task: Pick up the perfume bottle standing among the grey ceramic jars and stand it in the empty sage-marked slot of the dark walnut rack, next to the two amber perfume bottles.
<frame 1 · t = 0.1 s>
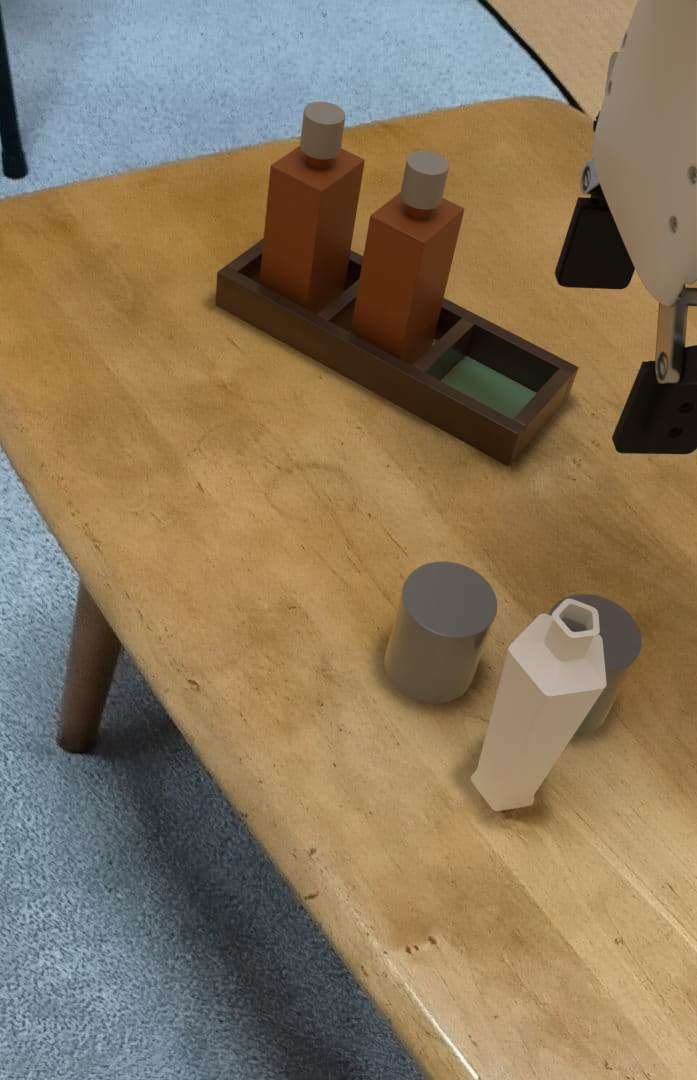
hand: (619, 361, 49), 25 cm above the table, tool pointing down, fingers open, 9 cm apart
grey jar 1: (426, 675, 69), on the table
amber bottle 2: (300, 304, 88), point 1 cm above the table, touching rack
perfume bottle: (498, 796, 65), on the table
grey jar 2: (559, 706, 69), on the table
amber bottle 1: (389, 352, 86), point 1 cm above the table, touching rack
rack: (387, 361, 86), on the table
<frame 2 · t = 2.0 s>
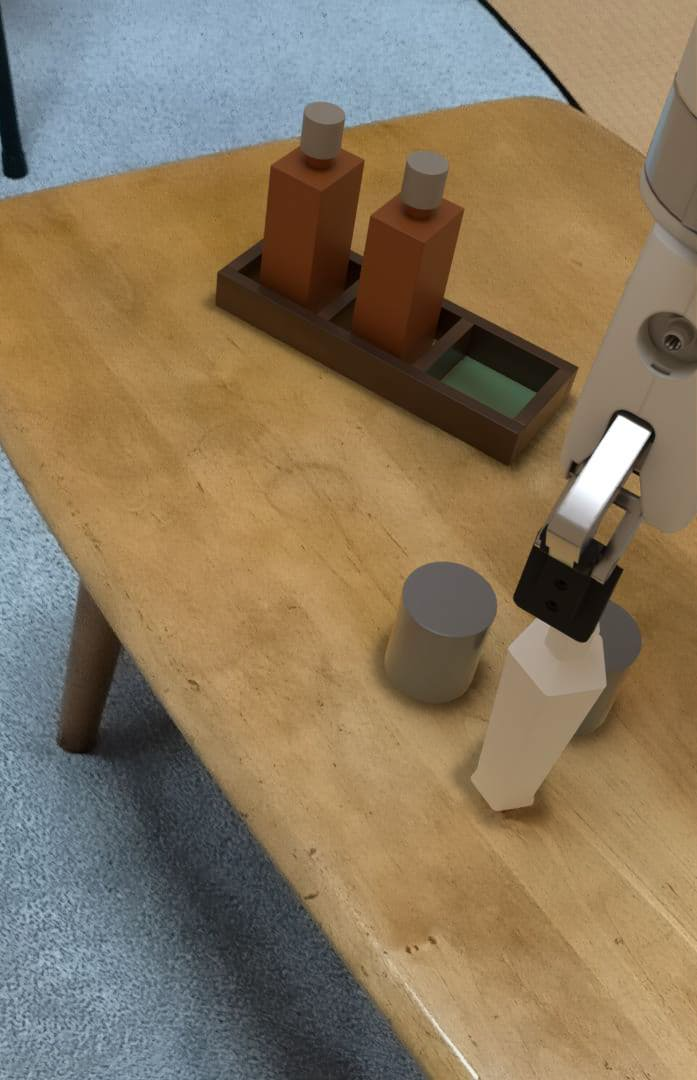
hand: (605, 545, 49), 20 cm above the table, tool pointing down, fingers open, 9 cm apart
nothing on the table moved.
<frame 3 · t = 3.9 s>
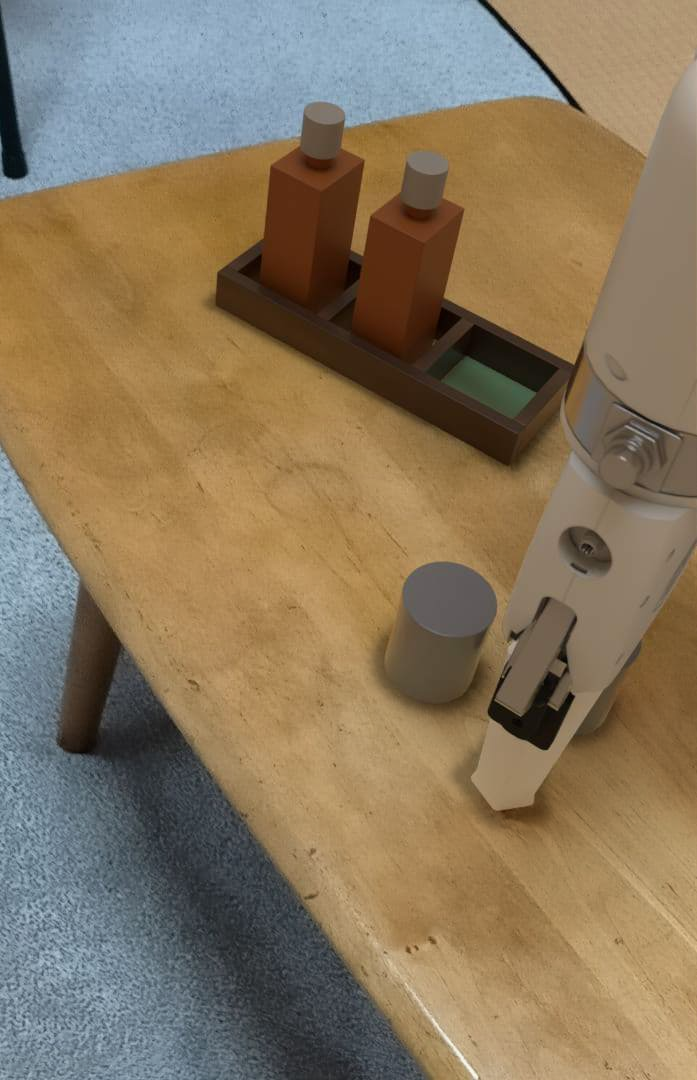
hand: (546, 688, 57), 10 cm above the table, tool pointing down, fingers closed on perfume bottle, 4 cm apart
perfume bottle: (499, 796, 65), on the table, touching gripper
everything else where it was.
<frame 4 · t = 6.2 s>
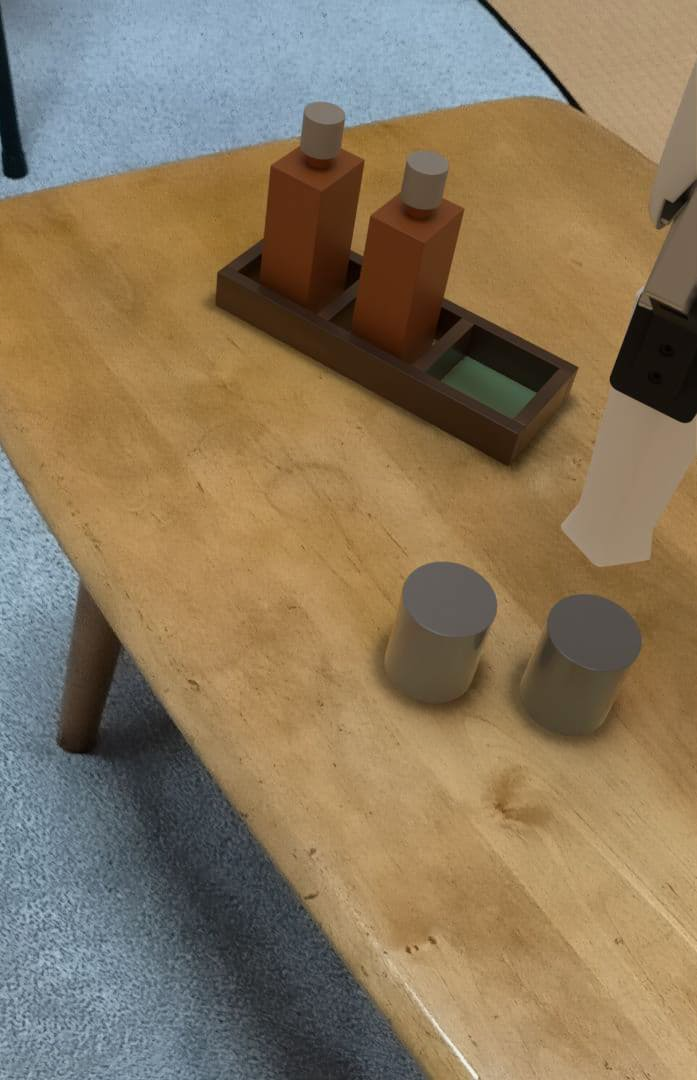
hand: (682, 358, 44), 29 cm above the table, tool pointing down, fingers closed on perfume bottle, 4 cm apart
perfume bottle: (605, 539, 52), point 19 cm above the table, touching gripper
everything else where it was.
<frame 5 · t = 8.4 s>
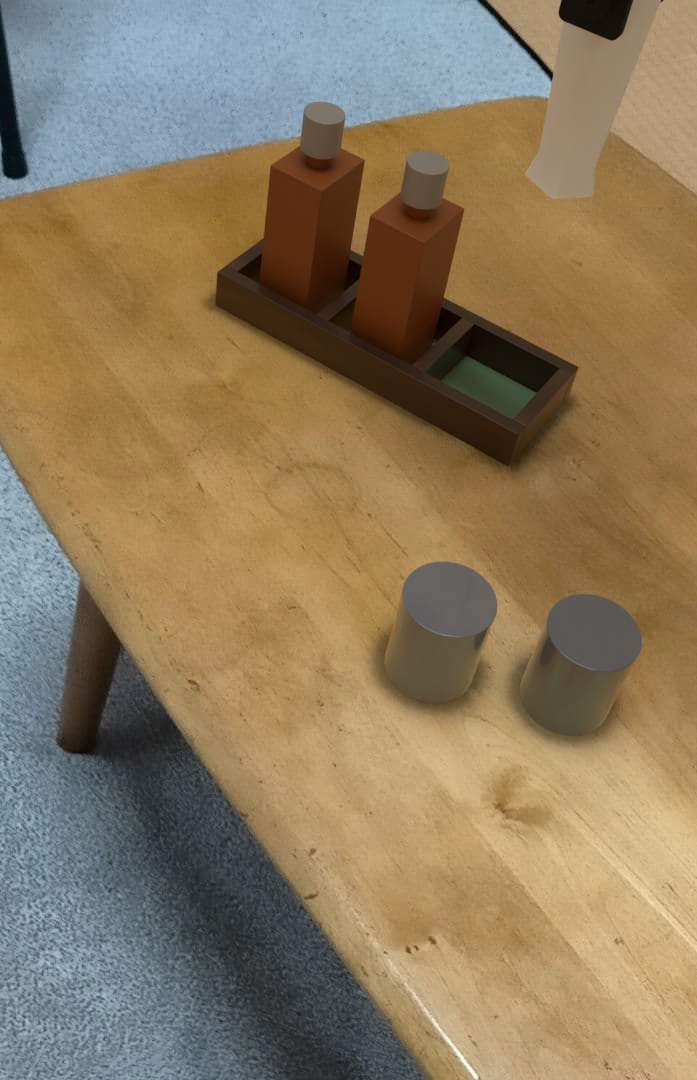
hand: (613, 6, 60), 30 cm above the table, tool pointing down, fingers closed on perfume bottle, 4 cm apart
perfume bottle: (559, 184, 67), point 20 cm above the table, touching gripper
everything else where it was.
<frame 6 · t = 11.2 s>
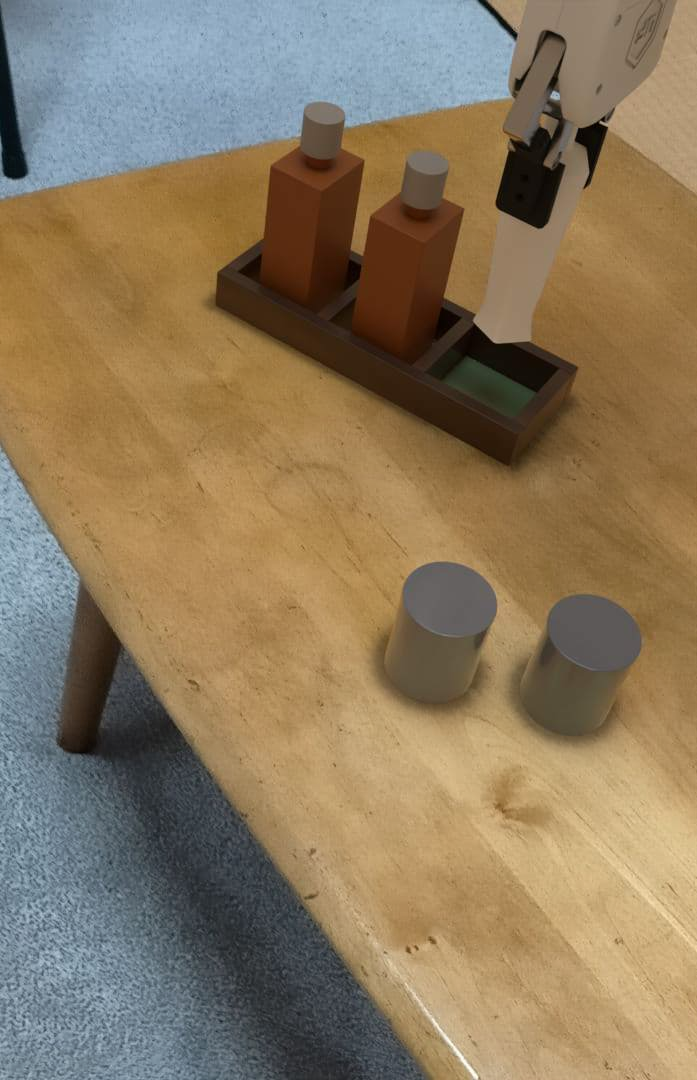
hand: (543, 194, 71), 17 cm above the table, tool pointing down, fingers closed on perfume bottle, 4 cm apart
perfume bottle: (502, 329, 79), point 7 cm above the table, touching gripper
everything else where it was.
when the fingers open (11 cm above the table, at t = 13.1 s): perfume bottle stays where it is, resting on rack.
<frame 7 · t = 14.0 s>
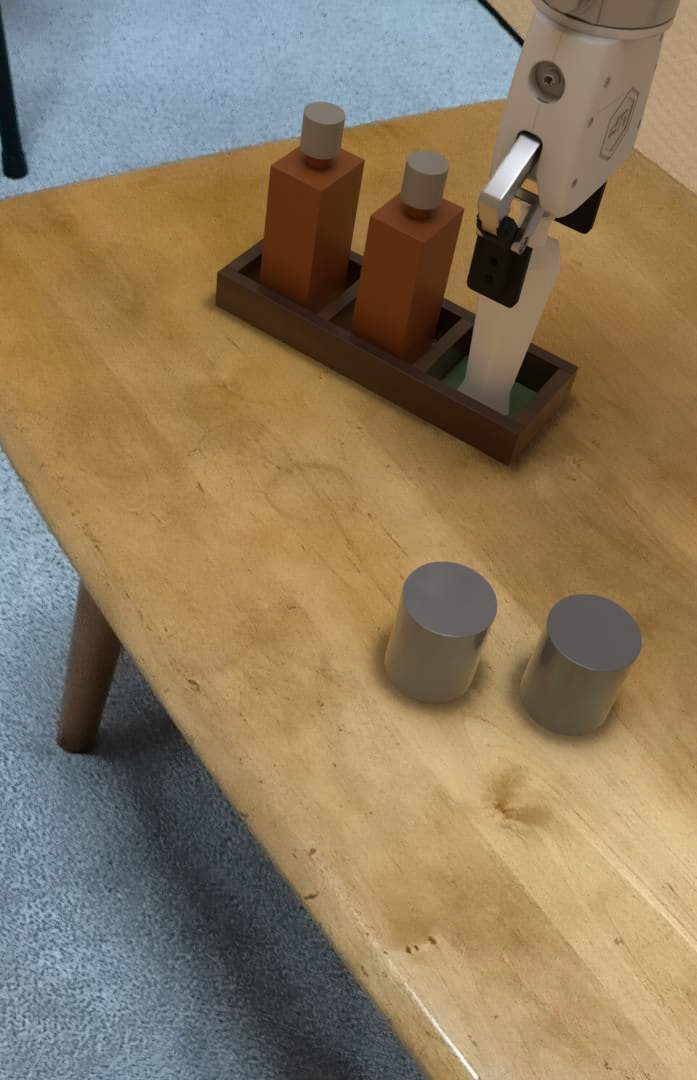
hand: (530, 258, 75), 13 cm above the table, tool pointing down, fingers open, 9 cm apart
perfume bottle: (482, 403, 83), point 1 cm above the table, touching rack
everything else where it was.
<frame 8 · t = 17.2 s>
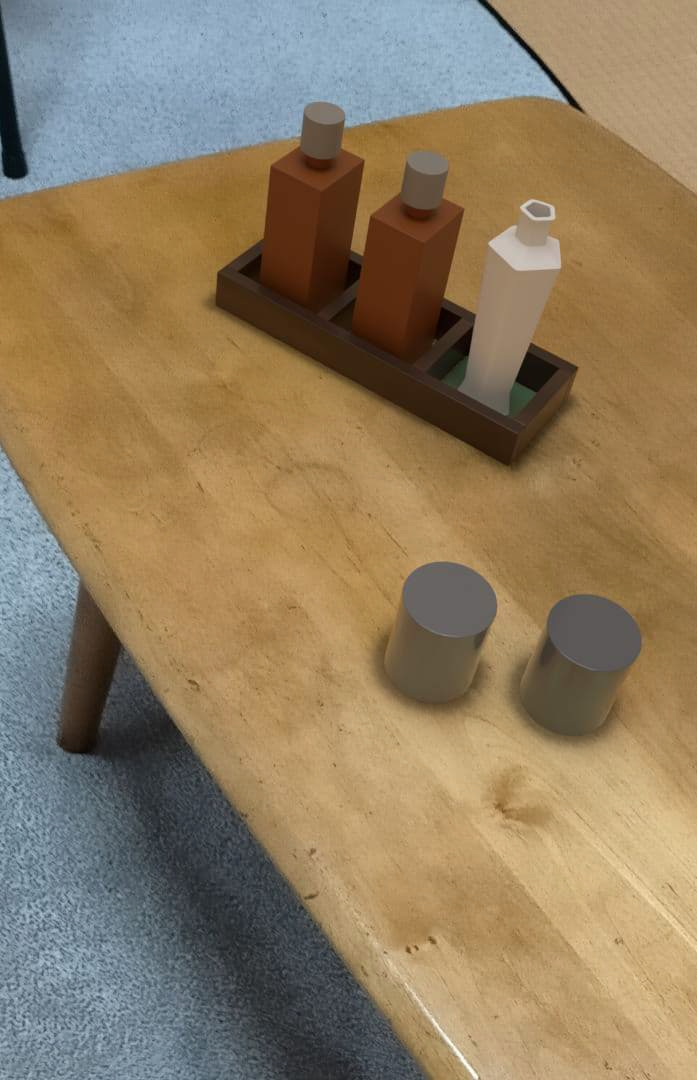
nothing on the table moved.
at the end: perfume bottle 0.0 cm from the target spot in the rack, point 0.8 cm above the rack's base; perfume bottle tilted 0° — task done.
